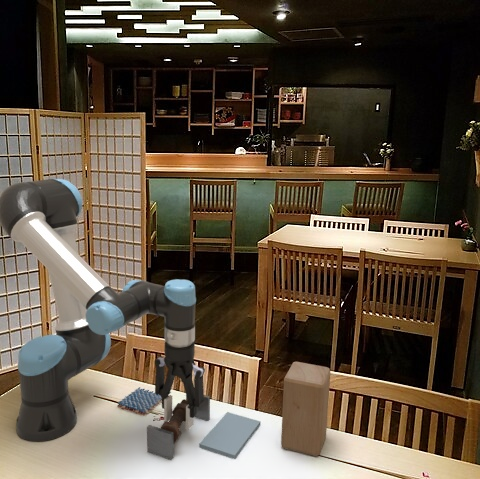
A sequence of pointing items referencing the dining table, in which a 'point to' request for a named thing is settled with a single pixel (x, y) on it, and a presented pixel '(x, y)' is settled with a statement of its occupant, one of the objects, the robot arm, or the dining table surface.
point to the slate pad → (230, 435)
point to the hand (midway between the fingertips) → (178, 423)
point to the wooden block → (305, 408)
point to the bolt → (176, 420)
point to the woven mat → (140, 401)
